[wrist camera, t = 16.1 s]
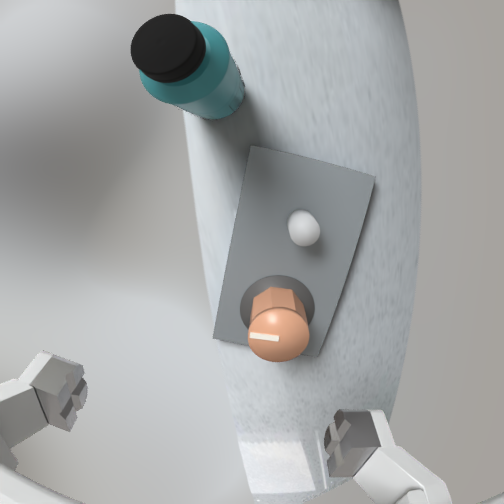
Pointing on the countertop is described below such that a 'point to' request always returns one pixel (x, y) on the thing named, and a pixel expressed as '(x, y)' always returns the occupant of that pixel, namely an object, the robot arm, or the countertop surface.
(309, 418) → the countertop surface
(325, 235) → the mount
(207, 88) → the beverage bottle
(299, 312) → the knob
